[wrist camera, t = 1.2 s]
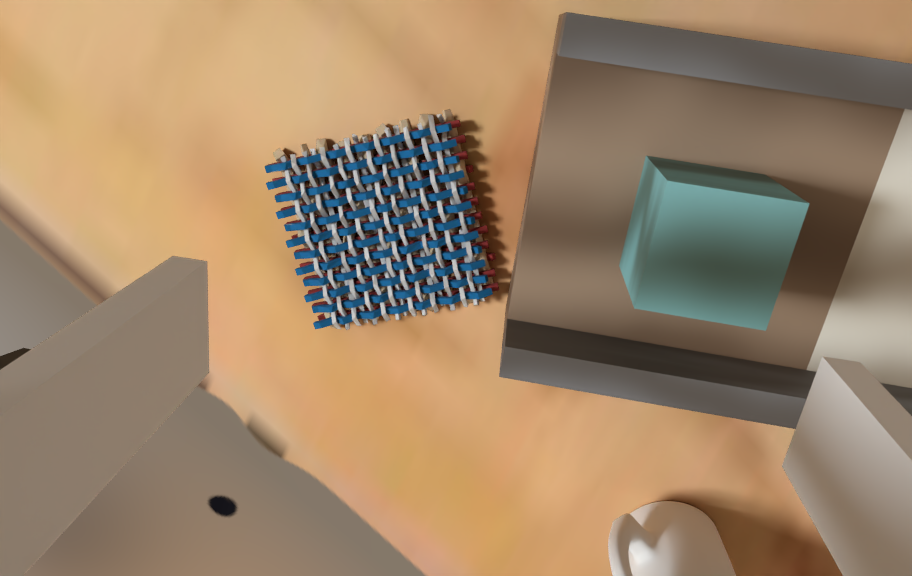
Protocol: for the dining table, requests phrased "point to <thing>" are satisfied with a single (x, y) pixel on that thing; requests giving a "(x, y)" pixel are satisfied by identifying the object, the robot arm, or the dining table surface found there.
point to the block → (709, 242)
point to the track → (727, 146)
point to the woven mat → (386, 223)
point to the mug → (667, 543)
